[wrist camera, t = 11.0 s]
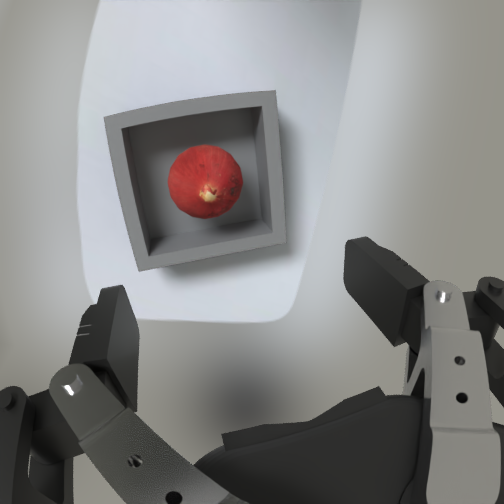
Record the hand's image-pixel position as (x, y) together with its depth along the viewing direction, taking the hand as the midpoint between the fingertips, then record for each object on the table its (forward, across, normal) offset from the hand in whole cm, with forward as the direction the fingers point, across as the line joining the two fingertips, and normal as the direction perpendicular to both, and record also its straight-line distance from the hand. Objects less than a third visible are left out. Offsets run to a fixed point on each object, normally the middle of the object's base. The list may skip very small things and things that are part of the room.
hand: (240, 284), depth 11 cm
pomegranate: (+19, 0, 0) cm, 19 cm away
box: (+20, 0, 0) cm, 20 cm away
